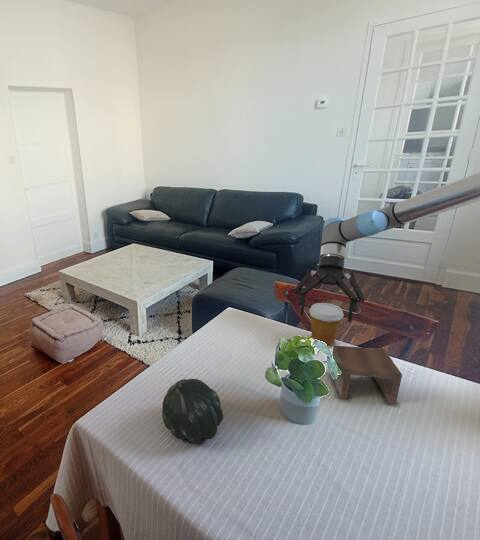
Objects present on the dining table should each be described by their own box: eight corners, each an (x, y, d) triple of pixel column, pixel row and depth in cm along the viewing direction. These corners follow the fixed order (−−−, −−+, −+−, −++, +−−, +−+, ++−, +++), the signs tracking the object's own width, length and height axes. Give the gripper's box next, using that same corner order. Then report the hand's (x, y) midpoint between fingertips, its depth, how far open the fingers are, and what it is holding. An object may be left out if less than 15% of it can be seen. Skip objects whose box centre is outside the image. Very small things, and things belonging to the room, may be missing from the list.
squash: (234, 394, 86) (193, 355, 85) (234, 444, 73) (185, 399, 72) (193, 416, 93) (155, 380, 92) (187, 465, 80) (142, 424, 79)
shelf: (379, 376, 94) (384, 348, 91) (395, 404, 85) (402, 374, 81) (330, 371, 98) (333, 345, 95) (340, 397, 88) (345, 369, 85)
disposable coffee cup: (337, 352, 106) (341, 318, 102) (303, 343, 112) (306, 311, 108) (341, 337, 113) (346, 305, 108) (309, 330, 118) (313, 300, 114)
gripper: (374, 267, 114) (369, 327, 108) (292, 260, 127) (284, 314, 121) (378, 257, 108) (373, 320, 102) (291, 251, 121) (283, 307, 115)
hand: (325, 317), depth 111 cm, fingers open, 13 cm apart
